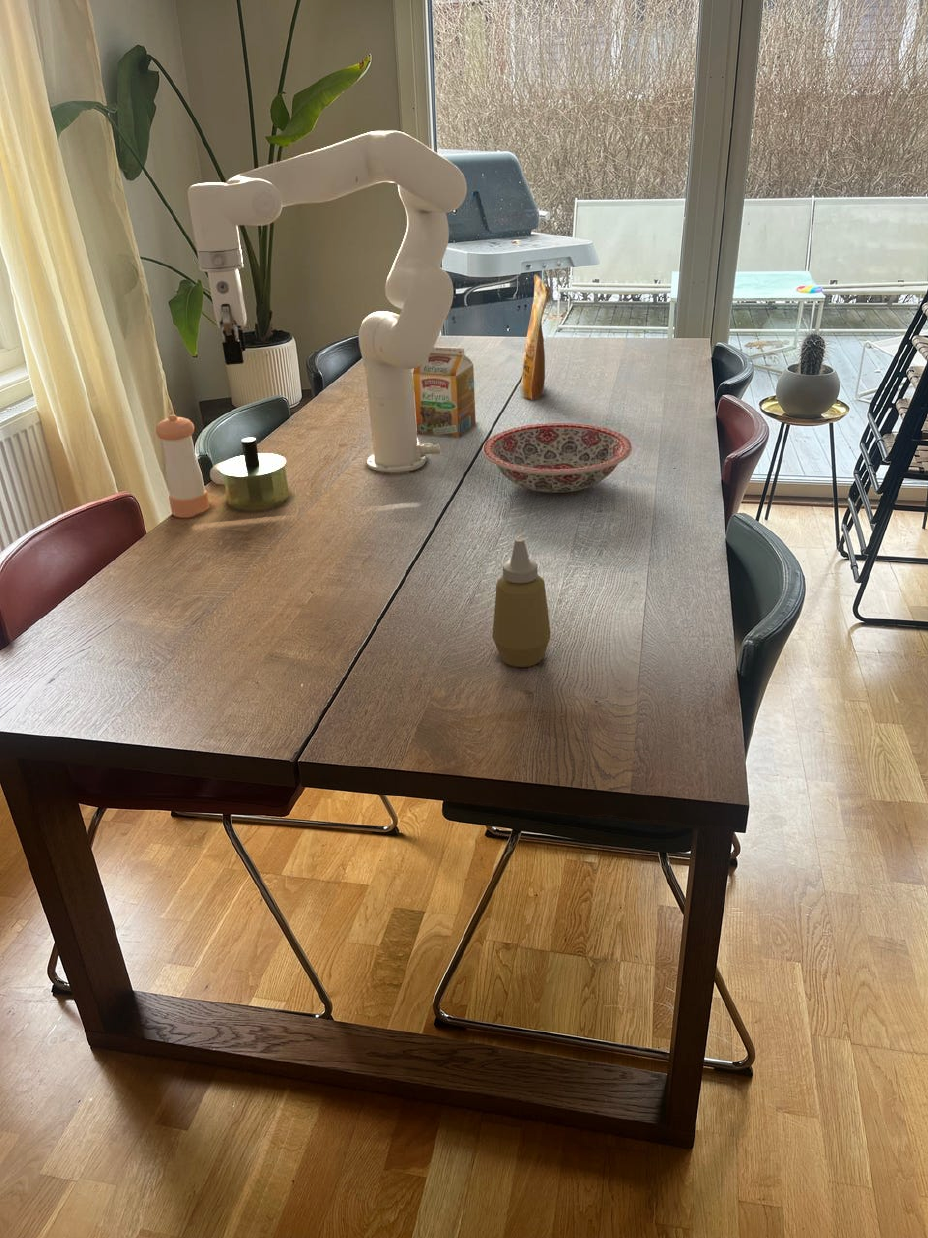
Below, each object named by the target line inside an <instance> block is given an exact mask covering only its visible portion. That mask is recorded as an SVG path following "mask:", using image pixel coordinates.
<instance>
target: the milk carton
mask: <svg viewBox="0 0 928 1238" xmlns="http://www.w3.org/2000/svg"><path fill="white" fill-rule="evenodd" d="M474 369H475V368H474V362H473V361H472V360H471V359H470V358H469V357H468V356H467V355H466V354H465V349H464V348H463V347H450V346H449V347H448V346H434V347H433V349H432V351H431V353H430V355H429V356H428V358H427V359H426V361H425V362H424V363H423V364H422V365H420V366H419V367H417V368H414V369H413V372H412V377H413V386H414V404H415V418H416V432H417V435H425V436H426V435H427V436H436V437H437V436H439V437H450V438H460V437H461V436H463V435H464V434H465V433H466V432H468V431H469V430H470V429H472V427H474V426H475V425H476V424H477V422H476V397H475V395H476V394H475V372H474Z"/></svg>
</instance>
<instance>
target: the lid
mask: <svg viewBox="0 0 928 1238" xmlns="http://www.w3.org/2000/svg"><path fill="white" fill-rule="evenodd" d="M240 441H241V447H242V453H243V455H239V456H234V457H232V458H229V459H227V460H224V461H225V462H224V463H222V464H221V465H220V466H219V472H220V474H221V475H223V476H225V477H228V478H233V479H254V478H260V477H265V476H269V475H272V474H275V473H277V472H279V471H281V470H283V469H284V468H285V469H286V467H287V460H286V458H285V457H284V456H281V455H279V454H276V453H275V454H274V453H267V452H265V453H264V452H263V453H262V452H261V453H259V449H258V443H257V438H256V437H245V438H242V439H241V440H240Z"/></svg>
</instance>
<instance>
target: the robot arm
mask: <svg viewBox="0 0 928 1238" xmlns="http://www.w3.org/2000/svg"><path fill="white" fill-rule="evenodd" d="M381 183H394V184H396V185H397V189H398V193H399V197H400V199H401V201H402V204H403V207H404V209H405V213H406V222H407V223H406V224H407V225H406V230H405V235H404V237H403V239H402V240H403V241H402V243H401V246H400V248H399V250H398V253H397V254H396V257H395V260H394V262H393V264H392V266H391V269H390V271H389V273H388V276H387V279H386V282H385V286H384V292H385V297H386V299H387V300H388V302H389V303H390V304H391V305H393V306H394V307H396V308H398V309H400V314H397V313H394V312H390V311H384V310H383V311H381V310H380V311H375V312H372V313H371V314H369V315H368V316H366V317H365V318H364V319H363V320H362V322H361V324H360V327H359V330H358V346H359V350H360V354H361V355H360V356H361V358H362V362H363V366H364V371H365V378H366V379H365V380H366V388H367V399H368V400H367V401H368V409H369V410H368V411H369V420H370V430H371V442H372V452H373V454H372V455H370V456H369V457H368V458H367V460H366V465H367V467H368V468H370V470H373V471H377V472H383V473H400V472H406V471H409V472H413V471H416V470H419V469H420V468H422V467H423V466H424V465H425V464H426V463H427V458H426V455H438V454H440V453H441V448H440V444H439V443H438V444H433V442H426V443H422V442H420V441H419V439H418V434H417V426H416V412H415V397H414V383H413V372H412V370H414V368H417V367H419V366H420V365H422V364H423V363H424V362H425V361H426V359H427V358H428V356H429V355H430V353H431V351H432V349H433V347H435V344H436V342H437V341H438V338H439V335H440V333H441V331H442V329H443V327H444V325H445V322H446V320H447V317H448V315H449V312H450V310H451V307H452V305H453V300H454V284H453V280H452V278H451V275H449V273H448V272H447V271H446V270H445V269H444V268H442V267H441V265H442V262H443V260H444V256H445V254H446V251H447V248H448V244H449V239H450V230H449V228H450V227H449V222H448V217H447V213H452V212H454V211H456V210H457V209H459V208H460V207H461V206H462V205H463V204H464V201H465V200H466V196H467V191H468V188H467V181H466V177H465V176H464V173H463V172H462V171H461V169H460V168H459V167H458V166H457V165H456V164H455V163H453V162H452V161H450V160H448V159H447V158H445V157H444V156H442V155H441V154H439V153H437V152H436V151H434V150H432V149H431V148H430V147H429V146H427V145H425V144H424V143H423V142H420V140H417V139H416V138H414V137H413V136H411V135H409V134H407V133H405V132H402V131H398V130H375V131H374V130H373V131H368V132H366V133H362V134H360V135H357V136H354V137H351V138H348V139H346V140H343V141H340V142H337V143H334V144H332V145H328V146H325V147H323V148H320V149H316V150H313V151H311V152H306V153H303V154H299V155H297V156H294V157H291V158H288V159H284V160H281V161H276V162H273V163H270V164H267V165H264V166H260V167H257V168H254V169H251V170H249V171H246V172H243V173H240V174H237V175H235V176H232V177H230V178H229V179H228V180H226V181H225V182H220V181H219V182H202V183H196V184H192V185H190V187H189V188H188V190H187V200H188V208H189V212H190V219H191V224H192V230H193V236H194V241H195V247H196V253H197V259H198V266H199V270H200V272H205V273H207V278H208V284H209V288H210V289H209V290H210V296H211V297H210V298H211V301H212V305H213V306H212V307H213V313H214V317H215V321H216V326H217V328H218V329H220V330H221V337H222V342H221V344H222V351H223V355H224V356H223V357H224V361H225V365H228V366H231V365H240V364H244V361H245V360H244V354H243V352H245V351H246V350H247V349H246V343H245V337H244V336H245V335H244V329H243V328H245V327H246V325H247V320H248V317H247V311H246V306H245V299H244V293H243V288H242V282H241V276H240V272H239V270H240V269H243V268H244V264H243V263H244V262H243V255H242V249H241V242H240V234H239V228H238V227H239V226H259V227H261V226H262V227H263V226H267V225H270V224H272V223H274V222H275V221H276V220H277V219H278V218H279V217H280V216H281V213H282V210H283V208H285V207H289V206H294V205H300V204H320V203H326V202H330V201H334V200H337V199H340V198H342V197H344V196H347V195H349V194H352V193H354V192H357V191H359V190H362V189H366V188H369V187H371V186H374V185H376V184H381Z"/></svg>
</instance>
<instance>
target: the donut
mask: <svg viewBox="0 0 928 1238" xmlns="http://www.w3.org/2000/svg"><path fill="white" fill-rule="evenodd" d="M225 461H226V460H222V461H221V462H218V463H216V464H214V465H213V466H212V468H211V469H210V470H209V478H210V480H211V481H212V482H213V483H214V484H216V485H218V486H225V485H224V479H223V475H221V474H220V472H219V466H220V465H221V464H222V463H224V462H225Z"/></svg>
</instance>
